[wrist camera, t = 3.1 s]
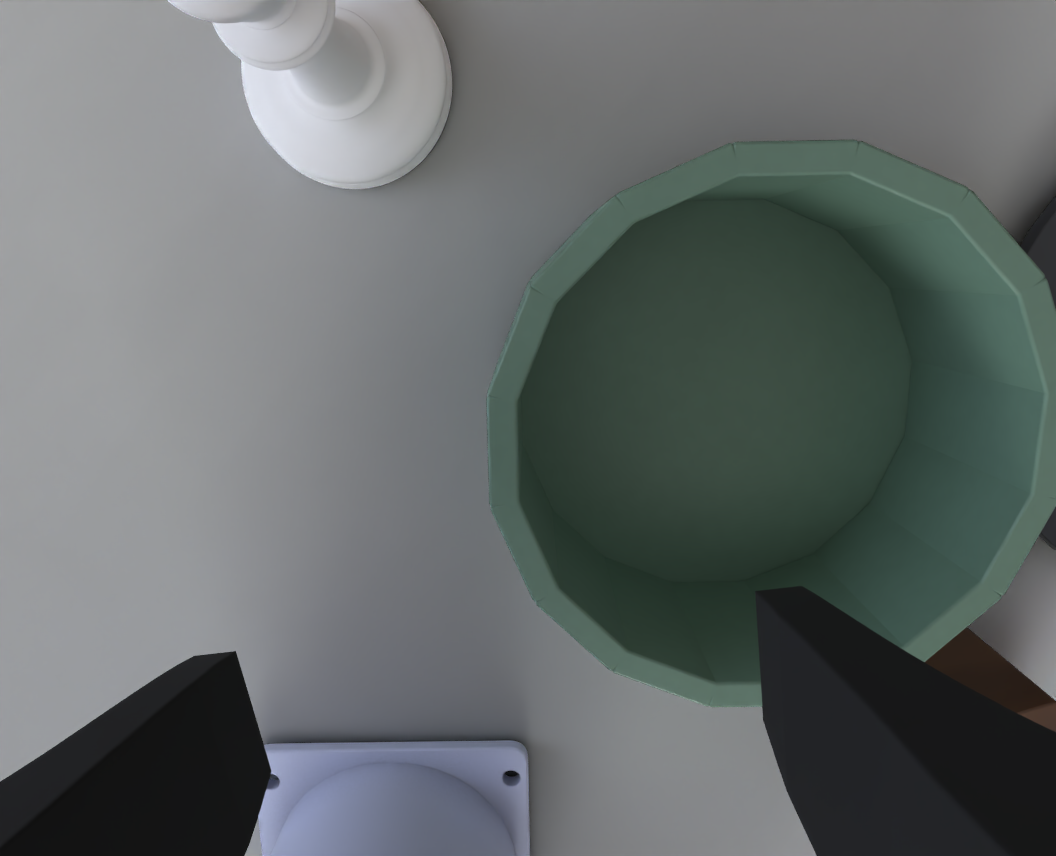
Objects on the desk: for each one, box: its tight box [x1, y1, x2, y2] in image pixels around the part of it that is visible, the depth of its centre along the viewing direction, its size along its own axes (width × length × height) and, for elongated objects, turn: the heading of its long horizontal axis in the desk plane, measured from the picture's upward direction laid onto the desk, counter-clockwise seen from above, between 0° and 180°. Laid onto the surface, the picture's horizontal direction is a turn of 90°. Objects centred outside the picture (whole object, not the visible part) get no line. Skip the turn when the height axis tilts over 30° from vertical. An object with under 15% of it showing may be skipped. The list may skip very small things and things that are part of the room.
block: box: [925, 627, 1056, 732], centre depth 19 cm, size 4×4×4 cm
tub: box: [486, 140, 1056, 707], centre depth 17 cm, size 11×11×5 cm
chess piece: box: [167, 0, 452, 189], centre depth 13 cm, size 5×5×10 cm
